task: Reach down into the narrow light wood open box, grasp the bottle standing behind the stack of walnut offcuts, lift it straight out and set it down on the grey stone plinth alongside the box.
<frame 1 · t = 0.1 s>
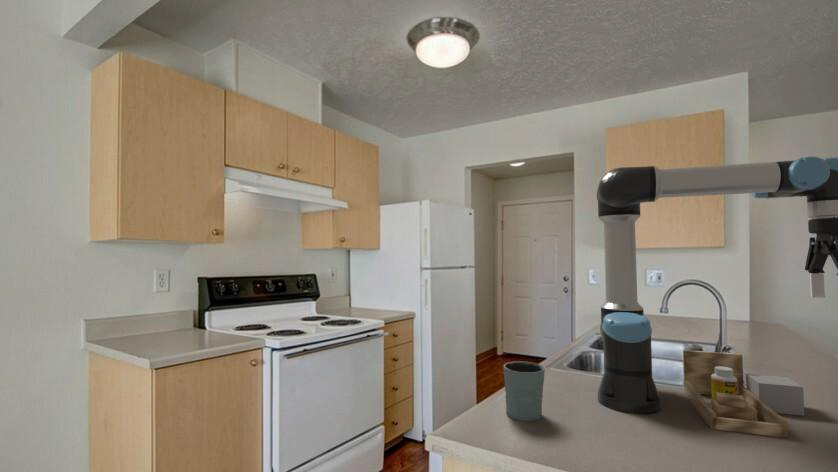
hand: (831, 300, 108), 28 cm above the worktop, tool pointing down, fingers open, 13 cm apart
light wood open box: (731, 414, 104), on the worktop
grey-green cup: (524, 415, 105), on the worktop
offcut block: (730, 404, 99), point 5 cm above the worktop, touching offcut slab top
offcut slab low: (732, 426, 98), resting in light wood open box, touching offcut slab top
offcut slab top: (733, 415, 98), point 2 cm above the worktop, touching offcut block, offcut slab low
stone plinth: (774, 407, 109), on the worktop
supplement bottle: (725, 408, 109), resting in light wood open box
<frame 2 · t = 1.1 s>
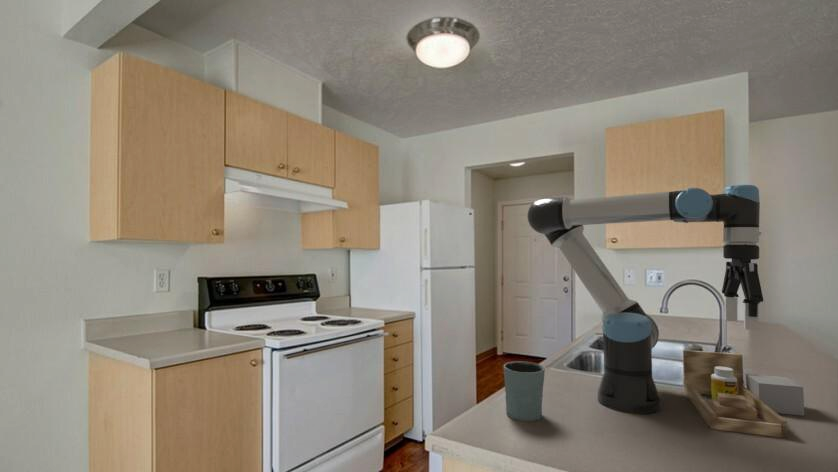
hand: (740, 325, 110), 21 cm above the worktop, tool pointing down, fingers open, 13 cm apart
offcut block: (731, 404, 99), point 5 cm above the worktop
offcut slab top: (733, 416, 98), point 2 cm above the worktop, touching offcut slab low
everything else where it was.
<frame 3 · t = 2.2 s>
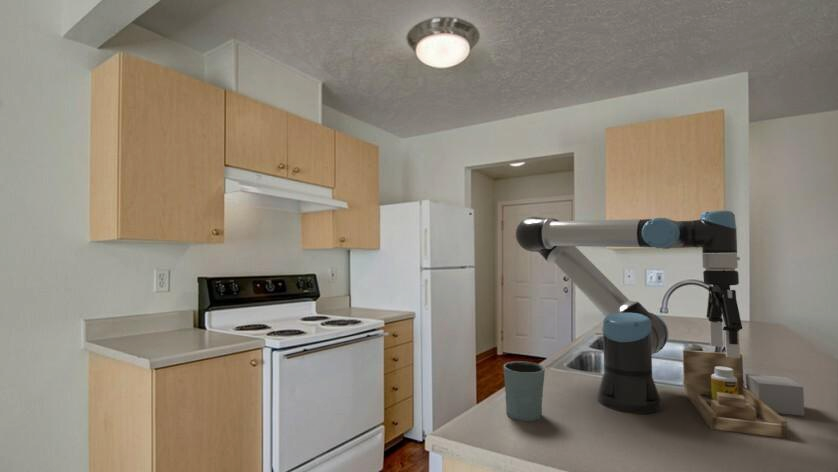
hand: (724, 351, 109), 15 cm above the worktop, tool pointing down, fingers open, 13 cm apart
nothing on the worktop moved.
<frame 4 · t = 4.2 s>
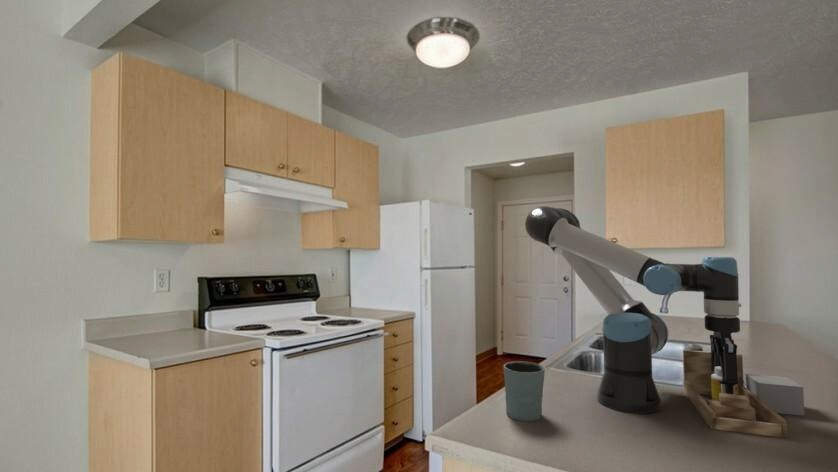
hand: (724, 405, 109), 1 cm above the worktop, tool pointing down, fingers closed on supplement bottle, 6 cm apart
offcut block: (733, 404, 98), point 5 cm above the worktop, touching offcut slab top
offcut slab low: (731, 426, 98), resting in light wood open box
offcut slab top: (732, 415, 98), point 2 cm above the worktop, touching offcut block
supplement bottle: (725, 408, 109), resting in light wood open box, touching gripper
everything else where it was.
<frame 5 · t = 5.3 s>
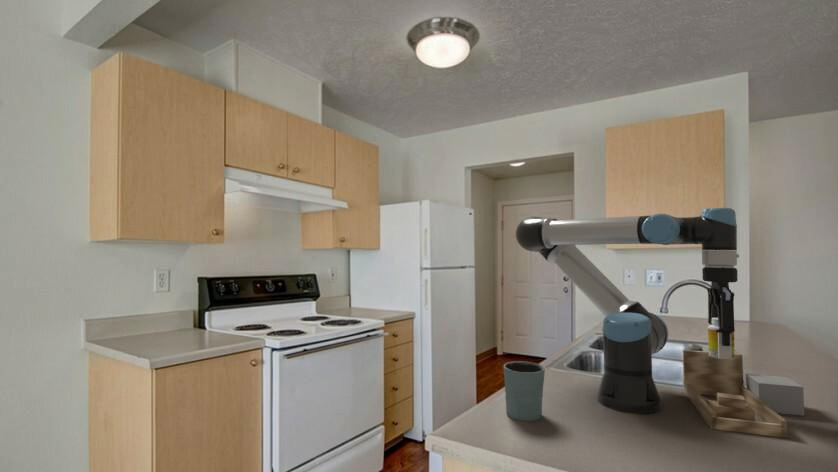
hand: (721, 355, 110), 13 cm above the worktop, tool pointing down, fingers closed on supplement bottle, 6 cm apart
offcut slab low: (732, 426, 98), resting in light wood open box, touching offcut slab top
offcut slab top: (731, 415, 98), point 2 cm above the worktop, touching offcut block, offcut slab low
supplement bottle: (721, 358, 110), point 13 cm above the worktop, touching gripper
everything else where it was.
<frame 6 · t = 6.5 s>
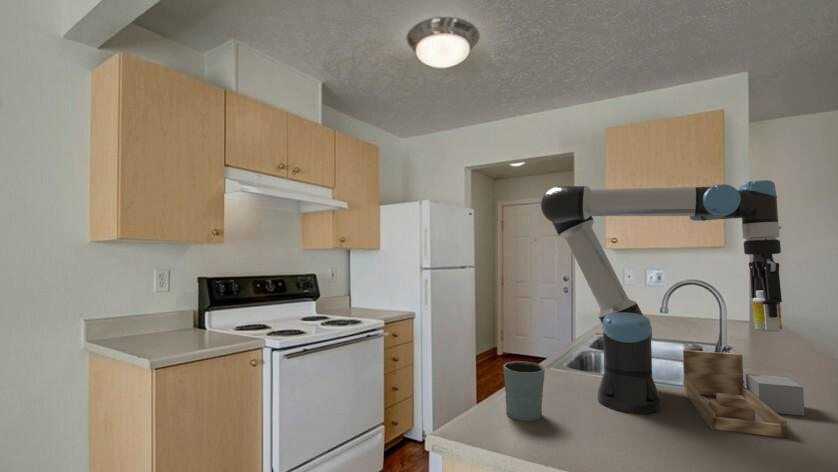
hand: (768, 327, 110), 21 cm above the worktop, tool pointing down, fingers closed on supplement bottle, 6 cm apart
offcut slab low: (732, 426, 98), resting in light wood open box, touching offcut slab top
supplement bottle: (768, 331, 110), point 20 cm above the worktop, touching gripper
everything else where it was.
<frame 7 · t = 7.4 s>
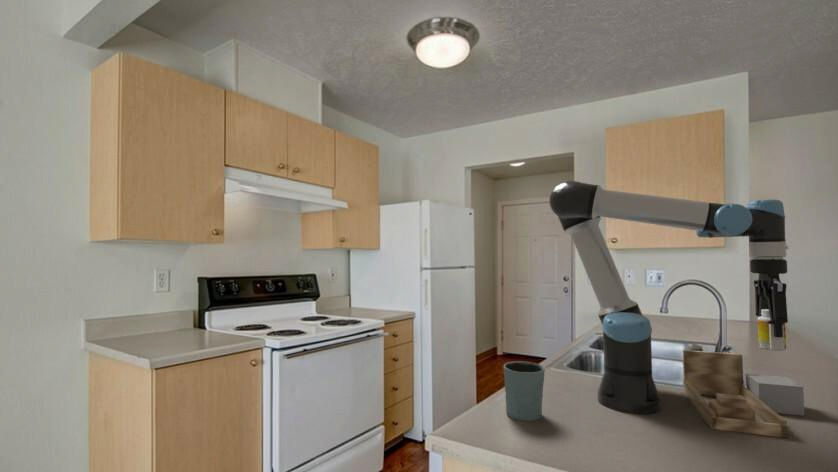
hand: (772, 346, 110), 16 cm above the worktop, tool pointing down, fingers closed on supplement bottle, 6 cm apart
offcut block: (731, 405, 98), point 5 cm above the worktop
offcut slab top: (731, 416, 98), point 2 cm above the worktop, touching offcut slab low
supplement bottle: (772, 350, 110), point 15 cm above the worktop, touching gripper
everything else where it was.
when the fingers open (9 cm above the worktop, at t = 8.6 s): supplement bottle drops 2 cm, resting on stone plinth.
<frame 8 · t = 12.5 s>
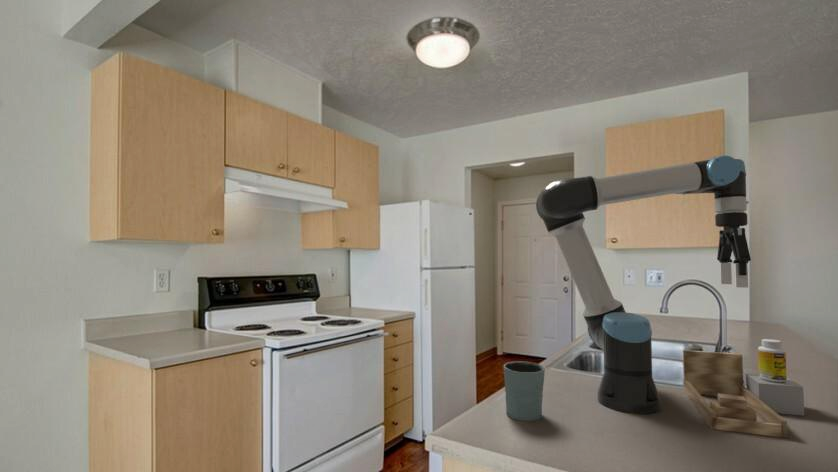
hand: (733, 285, 122), 31 cm above the worktop, tool pointing down, fingers open, 13 cm apart
offcut block: (732, 405, 98), point 5 cm above the worktop, touching offcut slab top
offcut slab top: (732, 416, 98), point 2 cm above the worktop, touching offcut block, offcut slab low
supplement bottle: (772, 380, 110), point 7 cm above the worktop, touching stone plinth
everything else where it was.
at the end: supplement bottle 0.1 cm from the stone plinth (horizontally); supplement bottle point 6.8 cm above the worktop; supplement bottle tilted 0° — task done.
